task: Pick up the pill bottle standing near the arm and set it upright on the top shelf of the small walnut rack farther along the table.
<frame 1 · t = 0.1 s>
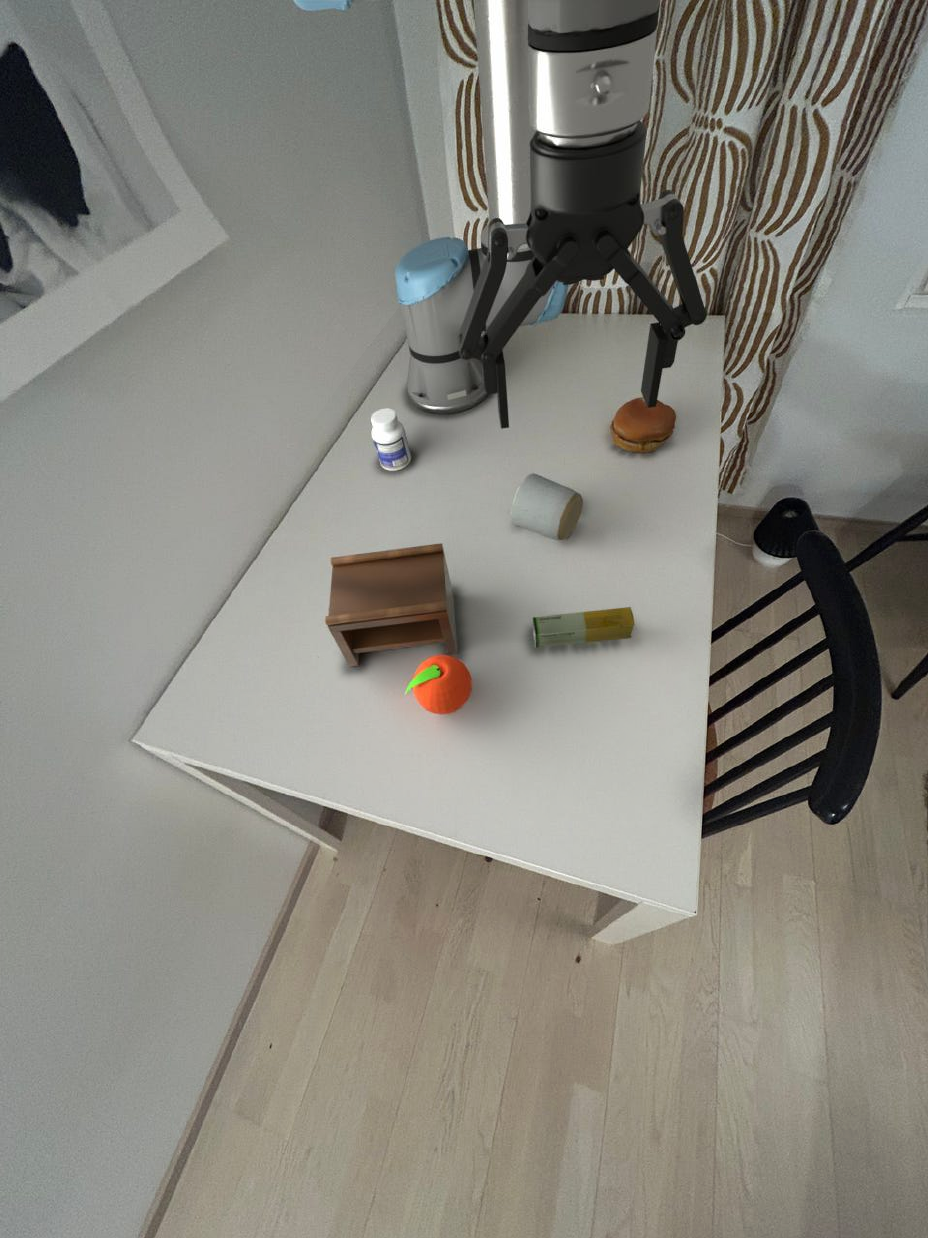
hand: (575, 409, 55), 28 cm above the table, tool pointing down, fingers open, 13 cm apart
burger: (640, 435, 94), on the table
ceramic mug: (550, 521, 86), on the table
clementine: (442, 700, 71), on the table
medication box: (581, 638, 74), on the table
pill bottle: (396, 462, 97), on the table
rack: (402, 628, 77), on the table
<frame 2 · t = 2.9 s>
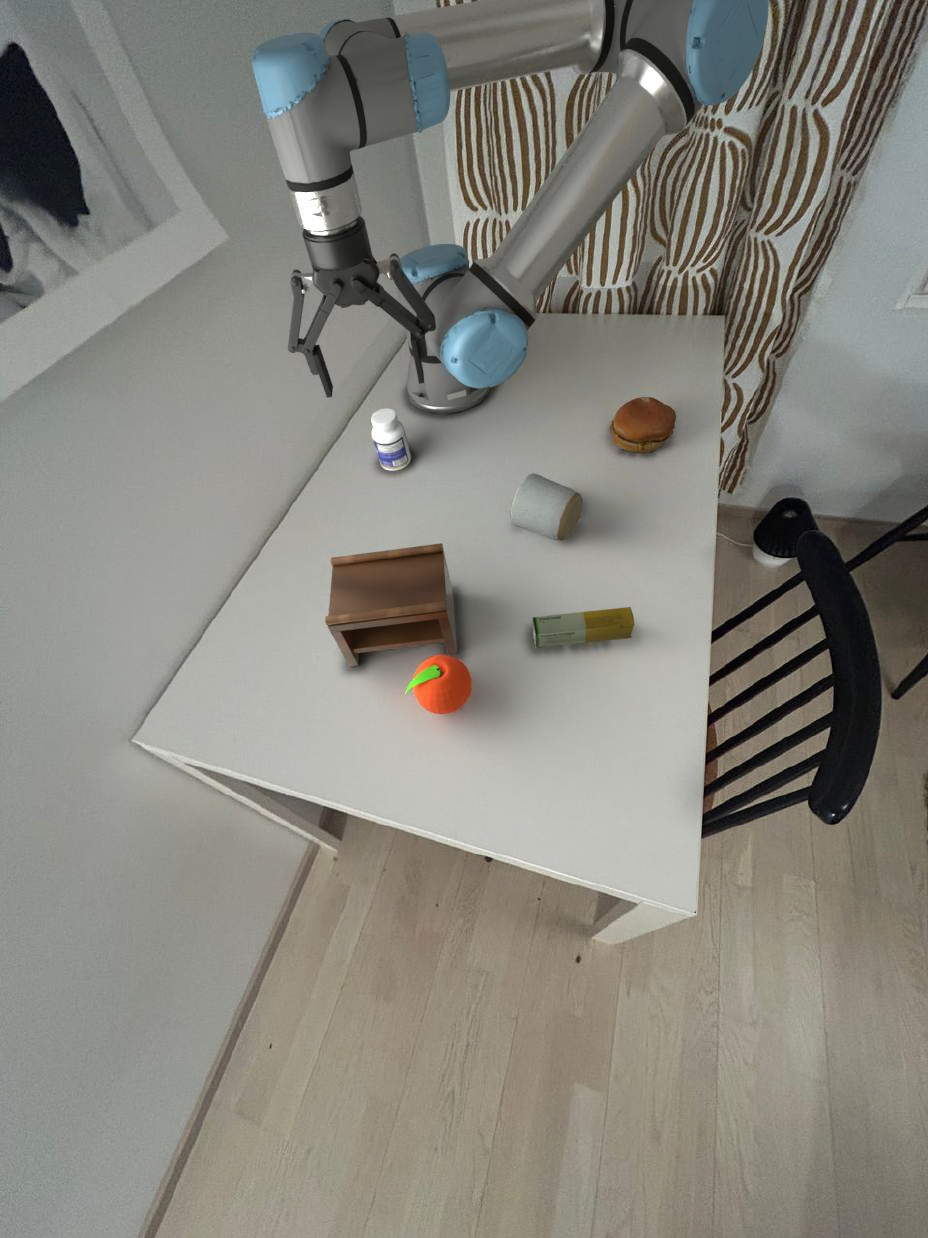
hand: (375, 385, 86), 14 cm above the table, tool pointing down, fingers open, 13 cm apart
nothing on the table moved.
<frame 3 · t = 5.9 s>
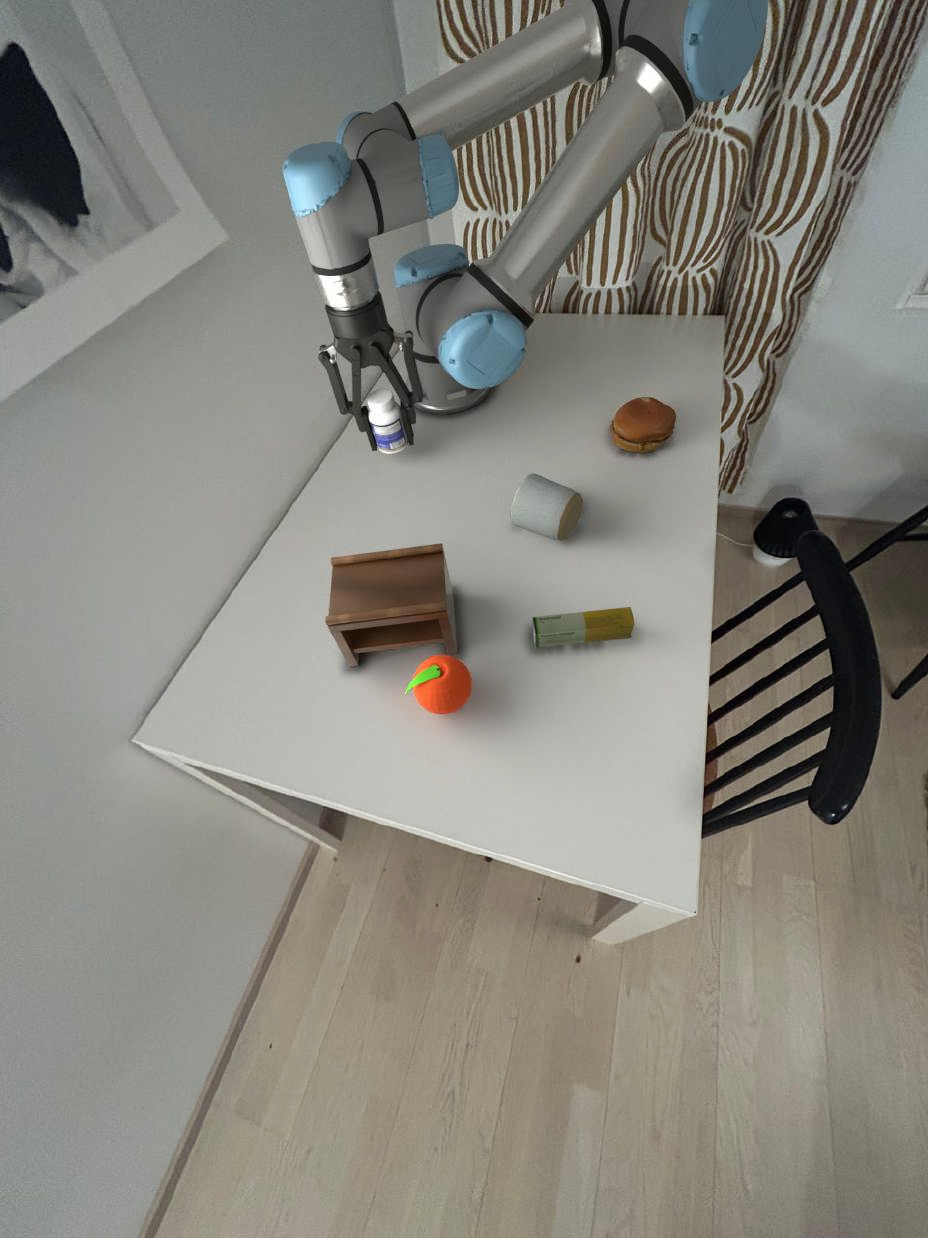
hand: (393, 442, 94), 4 cm above the table, tool pointing down, fingers closed on pill bottle, 5 cm apart
pill bottle: (393, 444, 95), point 3 cm above the table, touching gripper
everything else where it was.
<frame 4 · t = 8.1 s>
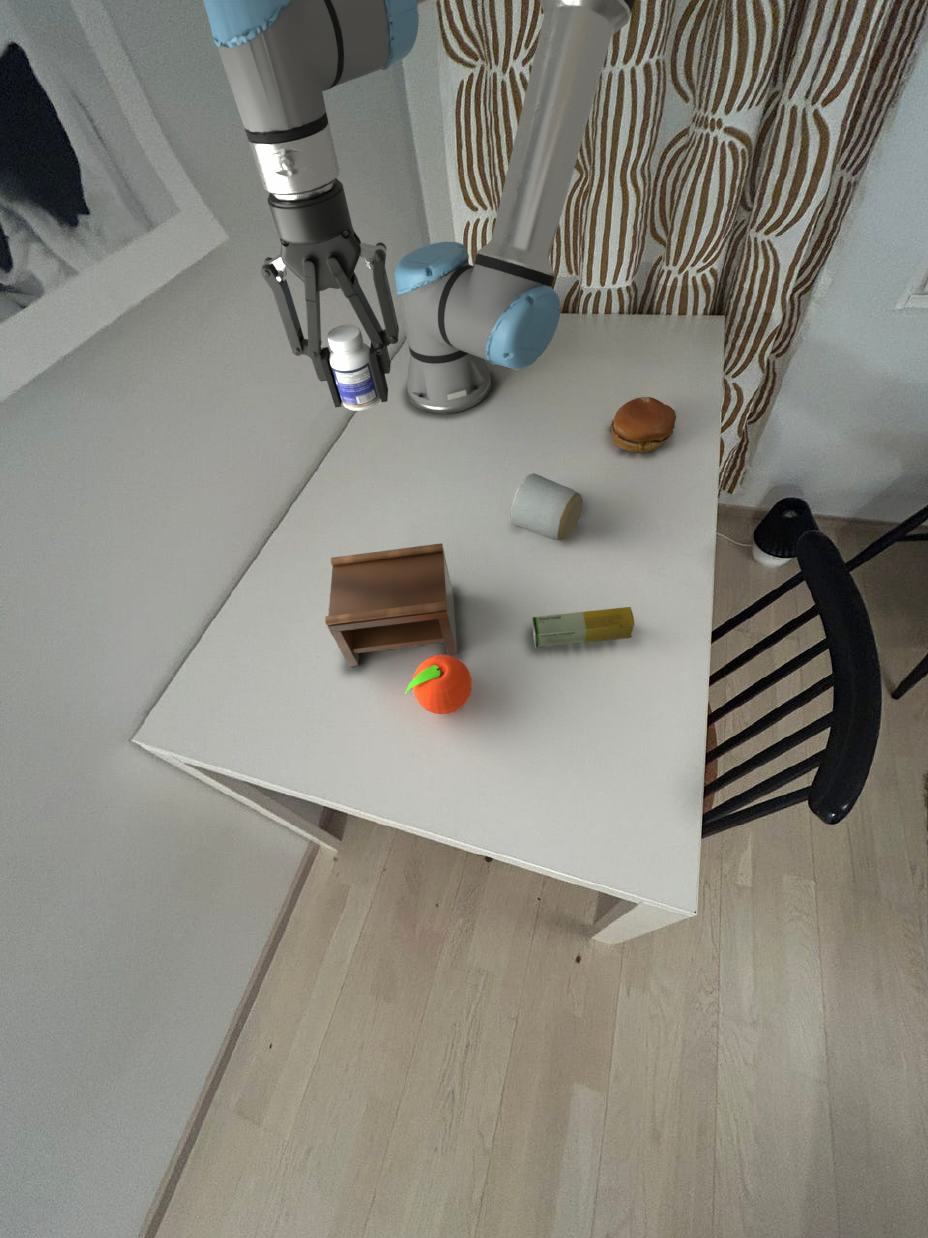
hand: (361, 397, 75), 19 cm above the table, tool pointing down, fingers closed on pill bottle, 5 cm apart
pill bottle: (362, 401, 76), point 19 cm above the table, touching gripper
everything else where it was.
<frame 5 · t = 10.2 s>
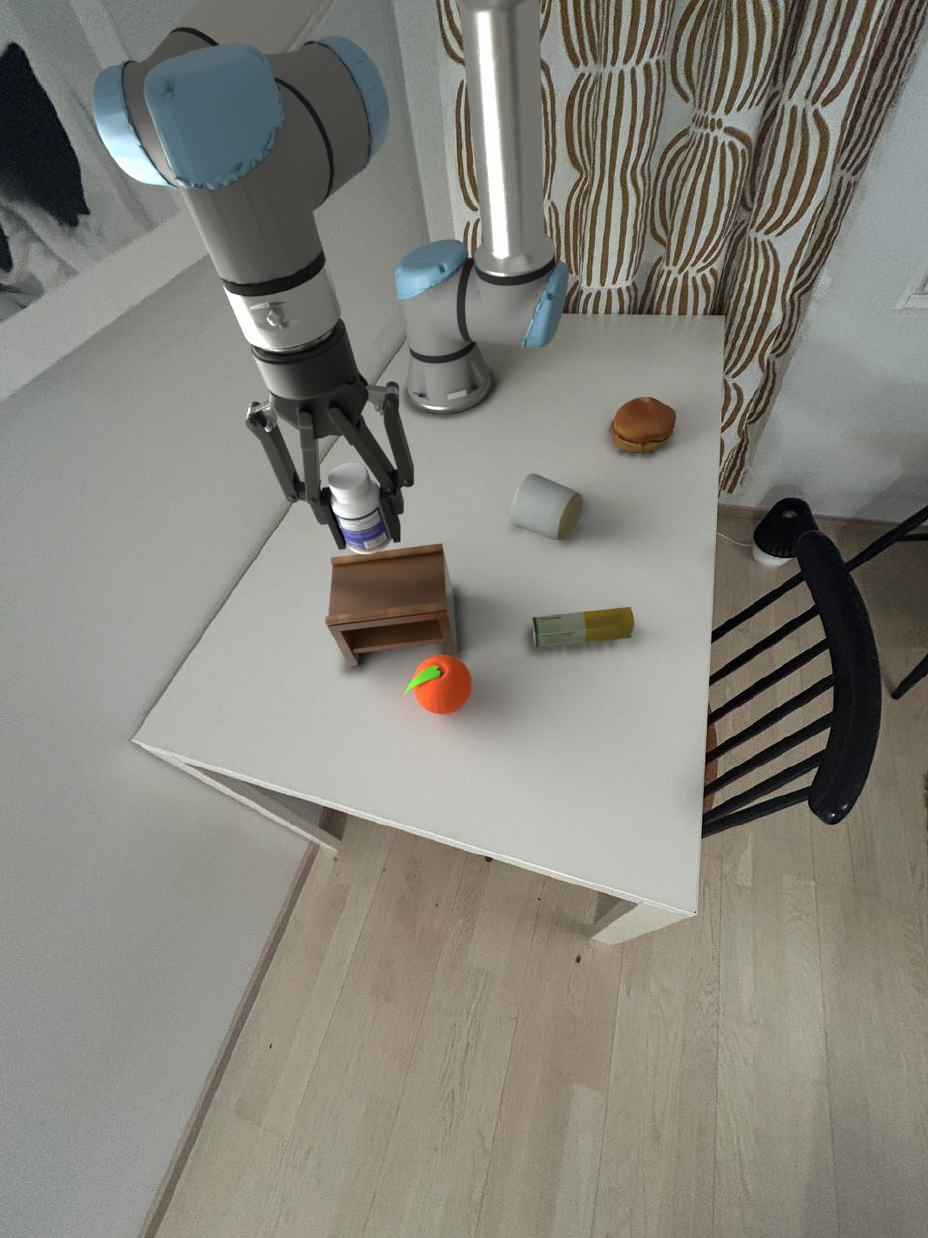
hand: (369, 536, 64), 17 cm above the table, tool pointing down, fingers closed on pill bottle, 5 cm apart
pill bottle: (370, 539, 64), point 17 cm above the table, touching gripper
everything else where it was.
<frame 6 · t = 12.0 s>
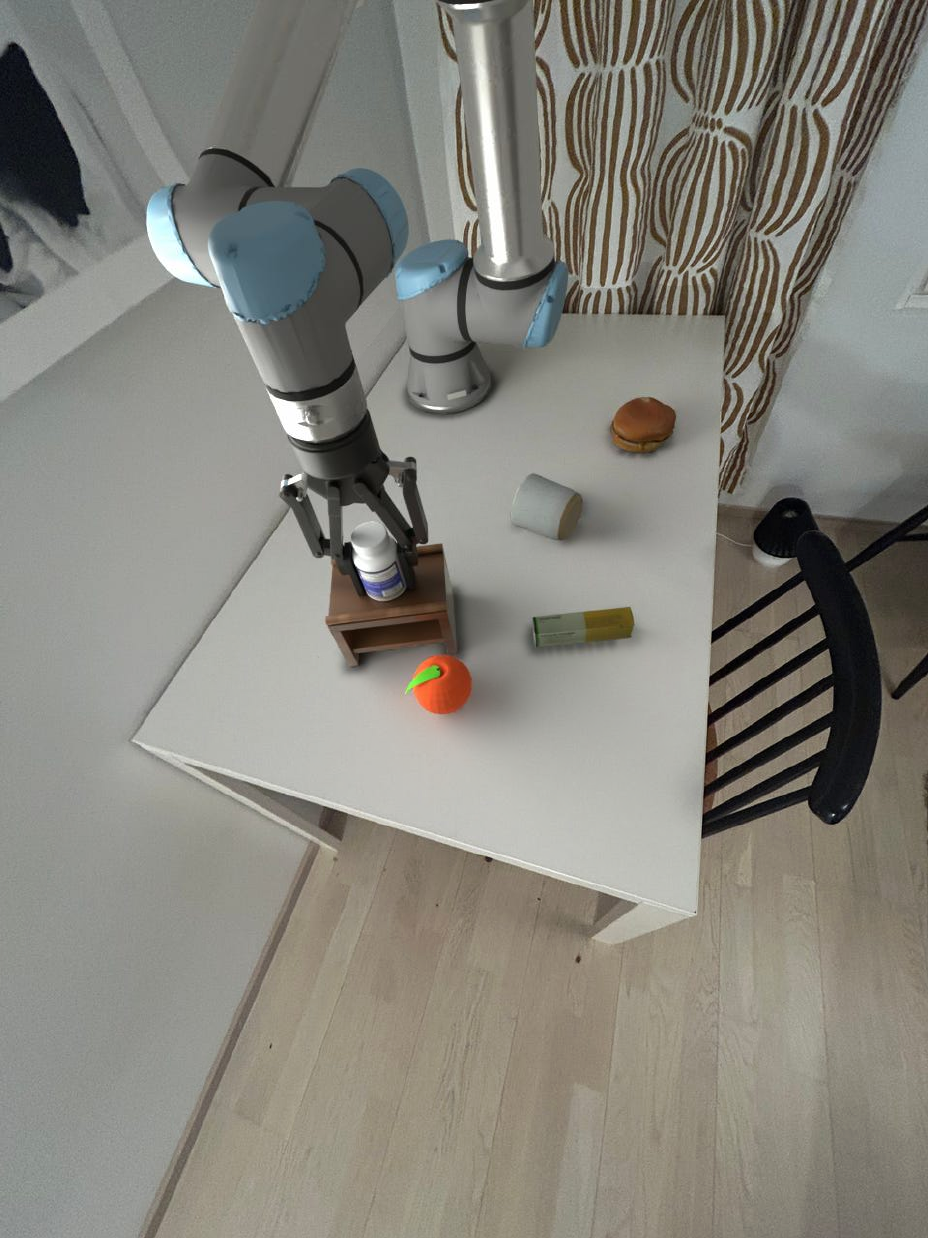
hand: (386, 583, 70), 9 cm above the table, tool pointing down, fingers closed on pill bottle, 5 cm apart
pill bottle: (387, 585, 70), point 9 cm above the table, touching gripper
everything else where it was.
when the fingers open (10 cm above the table, at t = 14.6 s): pill bottle stays where it is, resting on rack.
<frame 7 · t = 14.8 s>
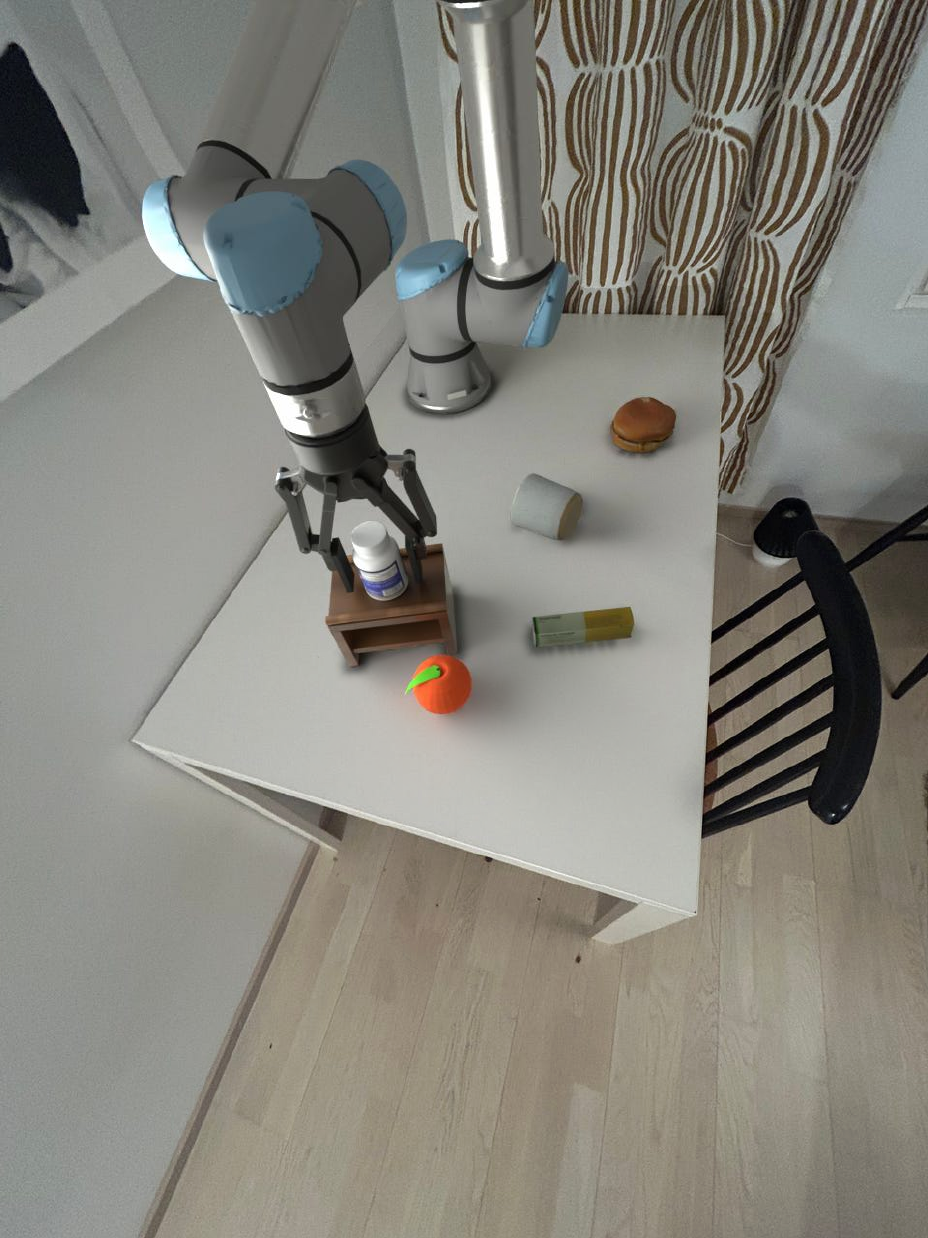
hand: (384, 578, 69), 10 cm above the table, tool pointing down, fingers open, 7 cm apart
pill bottle: (387, 585, 70), point 9 cm above the table, touching rack
everything else where it was.
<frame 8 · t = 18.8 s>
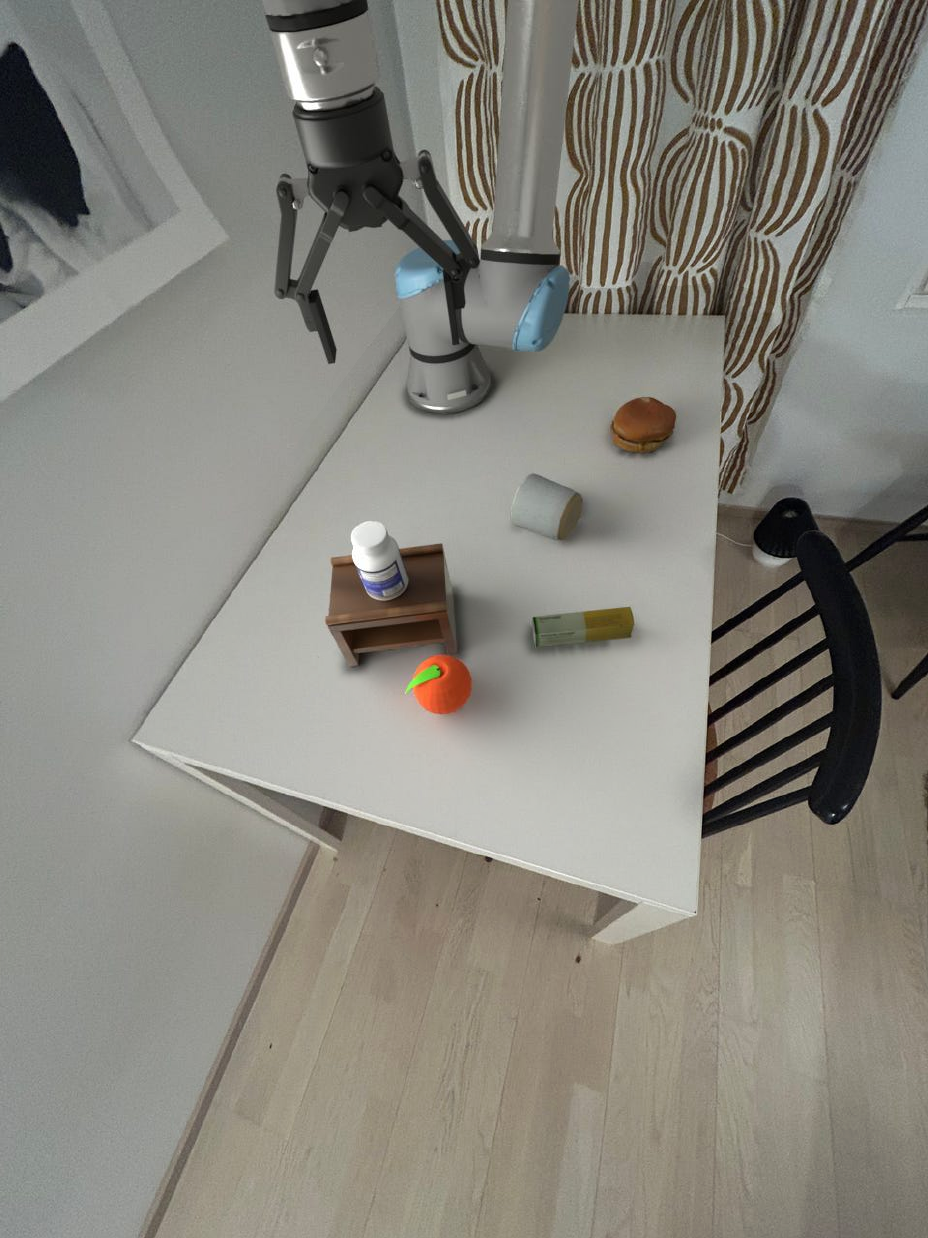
hand: (393, 347, 64), 29 cm above the table, tool pointing down, fingers open, 13 cm apart
nothing on the table moved.
at the end: pill bottle inside the target area on the rack (0.1 cm from its centre), point 9.0 cm above the rack's base; pill bottle tilted 0°; the gripper is holding nothing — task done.
